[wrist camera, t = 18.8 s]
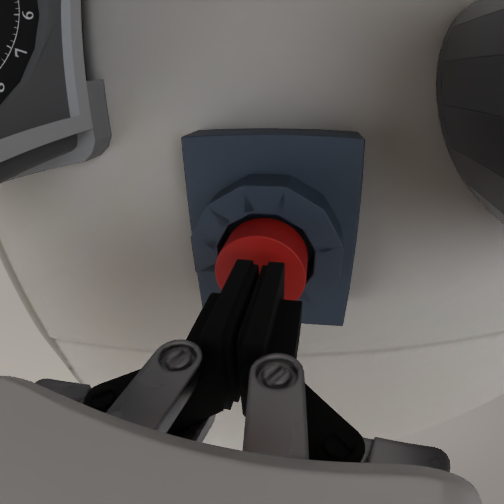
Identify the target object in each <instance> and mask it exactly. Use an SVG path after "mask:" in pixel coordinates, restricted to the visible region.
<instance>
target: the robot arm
mask: <svg viewBox="0 0 504 504" xmlns="http://www.w3.org/2000/svg"><path fill="white" fill-rule="evenodd" d="M284 287H285V263H283V262H270V261H269V263H268V265H263V266H262V268H261V271H260V274H259V265H256V264H254V262H253V260H244V259H237V260H236V262H235V264H234V266H233V268H232V270H231V272H230V274H229V276H228V278H227V280H226V282H225V284H224V287H223V289H222V291H221V293H214V292H213V293H211V294H210V295H209V297H208V299H207V301H206V303H205V305H204V307H203V308H202V310H201V312H200V314H199V316H198V318H197V320H196V322H195V324H194V326H193V327H192V329H191V331H190V333H189V335H188V337H187V339H186V340H173V341H170V342H167V343H165V344H163V345H162V346H161V347H159V348H158V349H157V350H156V352H155V353H154V354H153V355H152V356H151V358H150V359H149V360H148V361H147V363H146V364H145V365H144V366H143V367H142V369H139V370H137V371H134V372H131V373H129V374H126V375H123V376H121V377H118V378H115V379H112V380H110V381H107V382H104V383H101V384H99V385H97V386H95V387H93V388H91V387H90V385H87V384H79V383H72V382H65V381H59V380H53V379H41V380H39V381H37V382H36V383H33V382H31V381H28V380H24V379H21V378H16V377H11V376H0V504H482V501H481V499H480V496H479V494H478V492H477V490H476V489H475V487H474V486H473V485H472V484H471V483H470V482H469V481H467V480H465V479H464V478H462V477H460V476H457V475H455V474H453V473H450V460H449V458H448V456H447V454H446V453H444V452H443V451H442V450H441V449H438V448H435V447H429V446H423V445H416V444H409V443H404V442H398V441H393V440H388V439H383V438H378V437H375V438H374V440H373V439H368V438H363V437H362V436H361V435H360V434H359V432H358V431H357V430H356V429H354V428H353V427H352V426H351V425H350V424H349V423H348V422H347V421H345V420H344V419H343V418H342V417H341V416H340V415H339V414H338V413H337V412H335V411H334V410H333V409H332V408H331V407H330V406H329V405H328V404H327V403H326V402H325V401H323V400H322V399H321V398H320V397H319V396H318V395H317V394H316V393H315V392H314V391H313V390H312V389H311V388H310V387H308V386H307V385H306V384H305V379H304V370H303V367H302V365H301V364H300V362H299V361H298V360H297V359H296V358H297V351H298V344H299V336H300V328H301V317H302V303H303V302H302V301H296V300H285V299H284ZM240 396H241V401H242V410H243V415H244V416H245V417H246V419H245V430H244V441H243V451H240V450H235V449H229V448H224V447H219V446H215V445H210V444H206V443H202V442H203V440H204V438H205V436H206V435H207V433H208V431H209V429H210V428H211V426H212V424H213V422H214V420H215V414H217V413H219V412H221V411H223V409H228V410H231V407H232V404H233V401H234V402H238V401H239V399H240Z"/></svg>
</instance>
